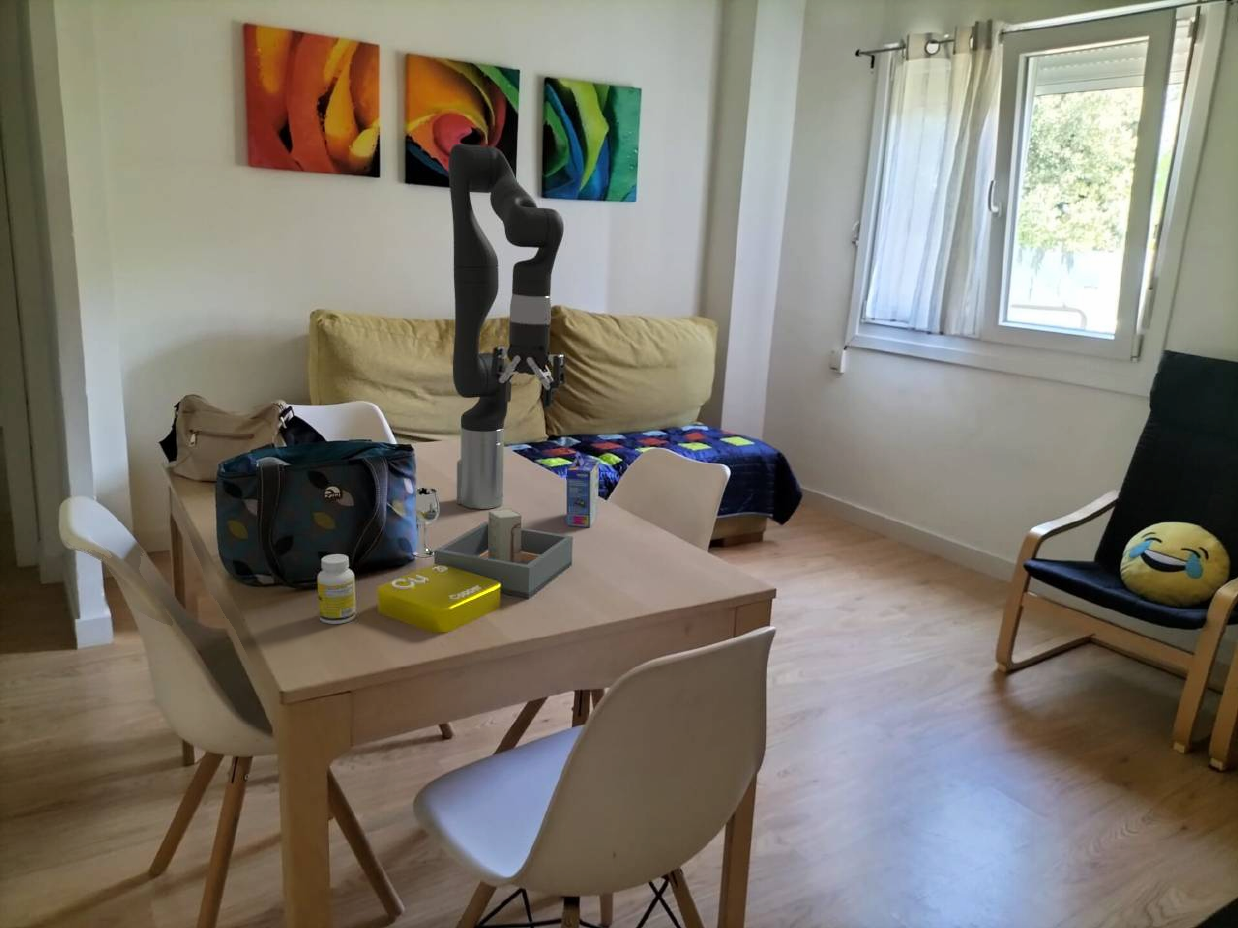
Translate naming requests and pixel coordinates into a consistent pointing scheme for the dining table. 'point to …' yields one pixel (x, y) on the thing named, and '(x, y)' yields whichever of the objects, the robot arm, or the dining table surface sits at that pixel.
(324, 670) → the dining table surface
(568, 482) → the ink cartridge box
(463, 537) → the box
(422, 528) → the wineglass
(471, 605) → the element tile
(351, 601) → the supplement bottle
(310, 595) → the dining table surface
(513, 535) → the skincare box
